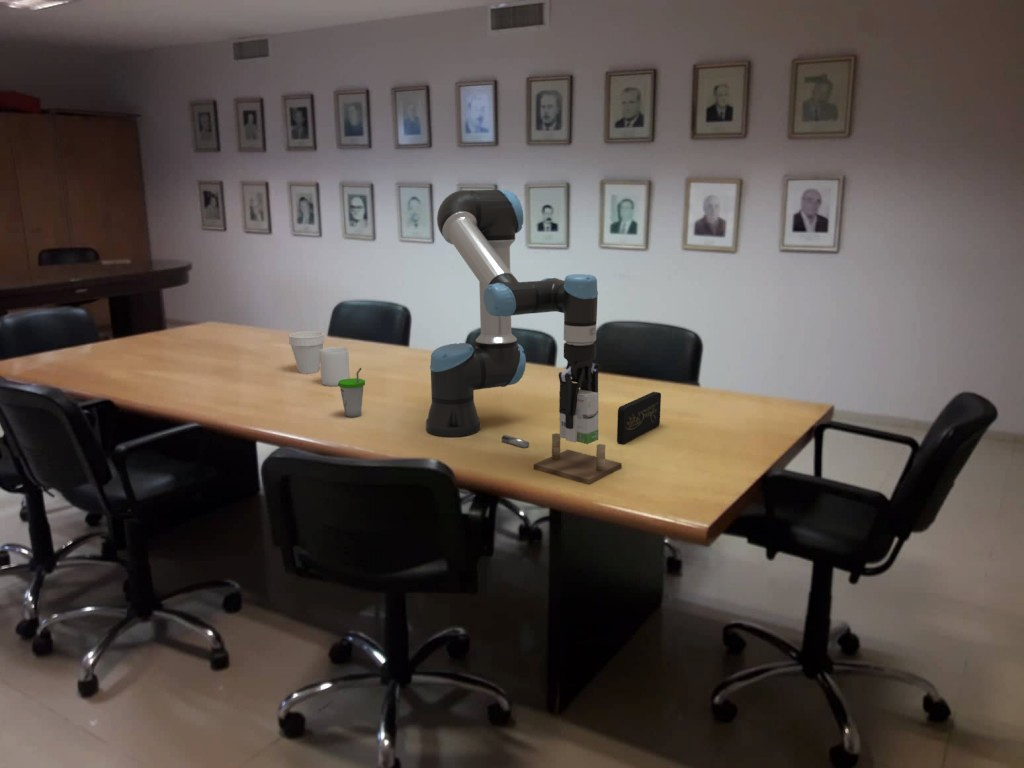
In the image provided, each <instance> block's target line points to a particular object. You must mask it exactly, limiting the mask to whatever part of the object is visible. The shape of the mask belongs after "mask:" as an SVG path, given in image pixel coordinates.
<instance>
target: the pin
mask: <svg viewBox="0 0 1024 768" xmlns="http://www.w3.org/2000/svg"><path fill="white" fill-rule="evenodd" d="M501 442H503V443H505V442H506V443H505V444H508V443H509V445H513V446H516V447H519V448H522V449H527V448H529V446H530V442H529V441H527V440H526V439H525V440H524V439H523V438H518V437H514V436H511V435H507V434H503V435H502V436H501Z"/></svg>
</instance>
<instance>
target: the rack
mask: <svg viewBox="0 0 1024 768" xmlns="http://www.w3.org/2000/svg"><path fill="white" fill-rule="evenodd" d="M595 453H596V456H594V455H590V454H587V453H582V452H579V451H575V450H571V449H565V450H564V451H561V437H560V433H556V432H555V433H552V434H551V456H549V457H546V458H545V459H543V460H540V461H538V462H536V463H533V470H535V469H536V470H537V471H539V472H543V473H545V474H546V473H547V474H550V475H554V476H557V477H560V476H561V478H564V479H568V480H571V481H575V482H579V483H582V484H585V485H591V484H592V483H594V482H597V481H598V480H601V479H603V478H604V477H606V476H607V477H608V475H610V474H613V473H614V472H616V471H618V470H620V469H622V465H623V464H622V463H621V462H618V461H615V460H611V459H607V458H606V445H605V444H603V443H602V444H601V443H598V444H596V452H595Z"/></svg>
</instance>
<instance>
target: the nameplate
mask: <svg viewBox="0 0 1024 768" xmlns="http://www.w3.org/2000/svg"><path fill="white" fill-rule="evenodd" d="M661 403H662V393H661V392H658V391H651V392H650V393H647V394H645V395H643V396H641V397H638V398H636V399H634V400H632V401H630V402H627V403H625V404H622V405H620V406H619V407H618V409H617V427H616V428H617V432H616V442H617V443H618V444H621V445H626V444H627V443H630V442H632V441H633V440H636V439H637V438H640V437H641V436H643V435H646V433H649V432H651V431H653V430H655V429H657V428H659V426H660V424H661V408H662V407H661V406H662V405H661Z"/></svg>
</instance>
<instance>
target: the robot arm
mask: <svg viewBox="0 0 1024 768" xmlns="http://www.w3.org/2000/svg"><path fill="white" fill-rule="evenodd" d="M436 223H437V224H436V225H437V227H438V231H439V232H440V234H441V236H442V237H443V239H444V240H445V242H447V243H449V244H450V245H453V246H454V248H455V249H456V250H457V252H458V254H460V256H461V258H462V259H463V260H464V262H465V263H466V265H467V266H468V267H469V270H471V273H473V274H474V276H475V278H476V279H477V281H478V283H479V314H480V315H479V316H480V317H479V318H480V319H479V320H480V321H479V322H480V334H479V335H478V336H477V337H476V339H475V347H473V345H472V344H470V343H466V342H465V343H464V342H459V343H449V344H446V345H445V344H444V345H442V346H439V347H437V348H436V349H434V350H433V351H432V353H431V355H430V365H429V370H430V384H431V385H430V387H431V404H430V407H429V409H428V416H427V418H426V421H425V430H426V432H427V433H429V434H430V435H434V436H438V437H447V438H448V437H451V438H453V437H465V436H469V435H474V434H476V433H477V432H479V431H480V430H481V419H480V417H479V415H478V411H477V407H476V405H475V400H474V399H475V398H474V395H475V393H474V392H475V391H477V390H478V391H479V390H486V389H491V388H500V387H501V388H505V387H507V386H512V385H516V384H517V383H519V382H520V381H521V379H522V378H523V376H524V374H525V371H526V364H527V359H526V353H525V350H524V347H523V346H522V345H521V344H520V343H518V338H517V337H516V336H515V335H514V334H513V333H512V317H513V316H519V315H529V314H541V313H542V314H543V313H551V312H558V313H561V314H563V321H564V322H563V340H564V343H563V358H564V359H565V360H566V361H567V363H566V367H565V369H566V370H564V371H563V372H561V371H559V372H558V381H559V391H560V401H558V403H559V408H558V409H559V410H558V412H559V414H560V413H562V414H565V427H566V439H565V441H568V442H572V443H578V442H577V415H575V411H576V405H577V394H578V393H579V389H580V390H586V391H591V392H596V393H598V394H599V372H600V367H601V366H600V364H599V363H594V362H593V361H594V360H595V359H596V358H597V344H596V340H597V320H598V296H599V291H598V279H597V277H596V276H595V275H593V274H585V273H584V274H583V273H582V274H581V273H576V274H568V275H566V276H565V278H564V280H562V279H561V278H557V277H554V278H552V277H551V278H550V277H546V278H542V279H541V280H534V281H531V280H529V281H518V279H517V278H516V276H515V275H514V274H513V273H512V272H511V246H512V245H513V243H514V242H515V241H516V234H518V233H520V231H522V228H523V225H524V210H523V206H522V204H521V200H520V199H519V198H518V196H517V195H516V194H515V193H514V192H513V191H511V190H507V189H497V188H495V189H470V190H469V189H464V190H463V189H461V190H457V191H453V192H452V193H450V194H449V195H448V196H446V197H445V198H444V200H443V201H442V202H441V204H440V205H439V208H438V210H437V216H436Z"/></svg>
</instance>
